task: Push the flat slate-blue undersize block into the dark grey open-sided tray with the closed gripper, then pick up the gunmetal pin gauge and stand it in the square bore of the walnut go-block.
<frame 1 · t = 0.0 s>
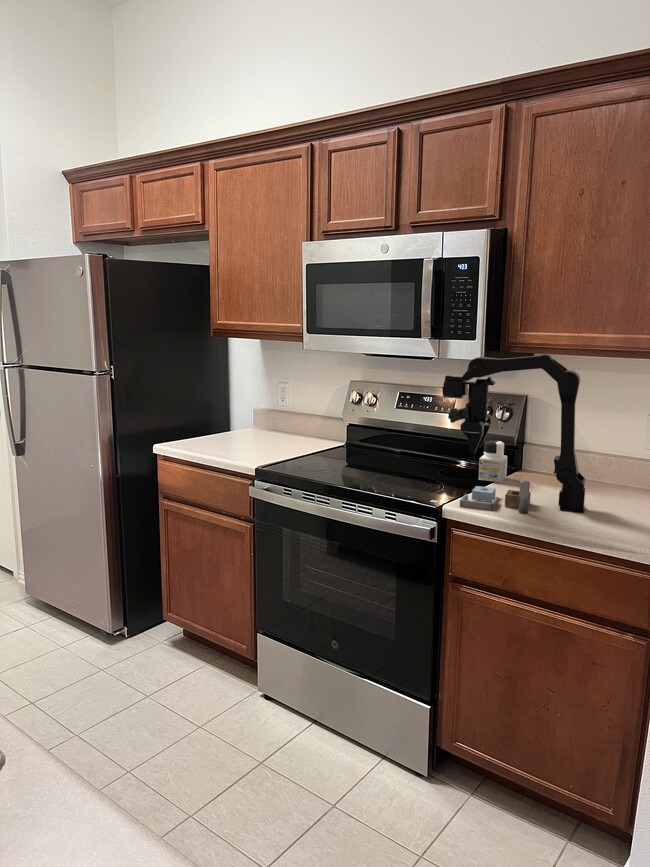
hand: (475, 450, 199), 15 cm above the worktop, fingers open, 9 cm apart
container: (492, 479, 224), on the worktop
pin gauge: (523, 512, 187), on the worktop
tray: (479, 504, 194), on the worktop
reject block: (483, 498, 201), on the worktop
go block: (517, 504, 194), on the worktop
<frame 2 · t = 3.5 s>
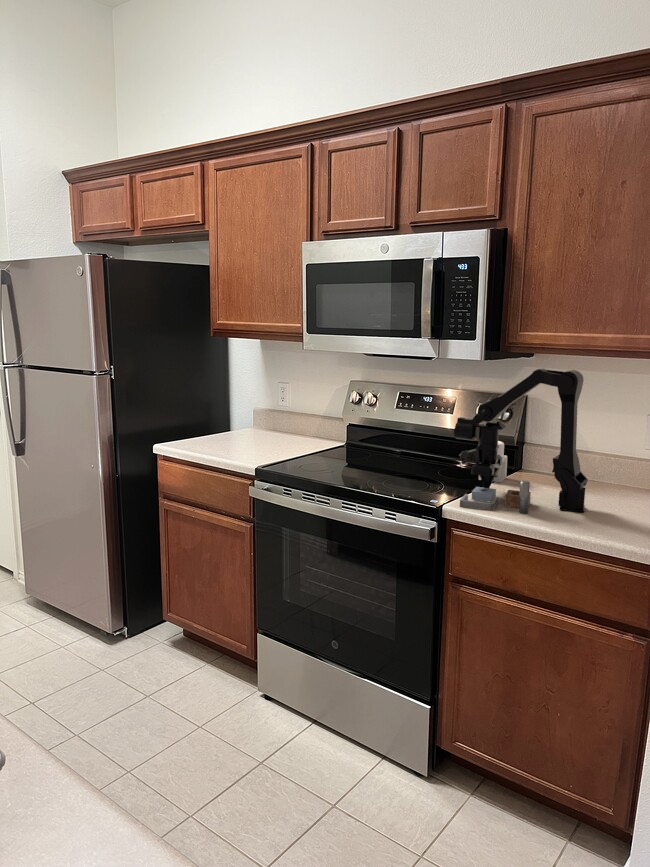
hand: (485, 491, 204), 1 cm above the worktop, fingers closed
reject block: (483, 499, 201), on the worktop, touching gripper
everything else where it was.
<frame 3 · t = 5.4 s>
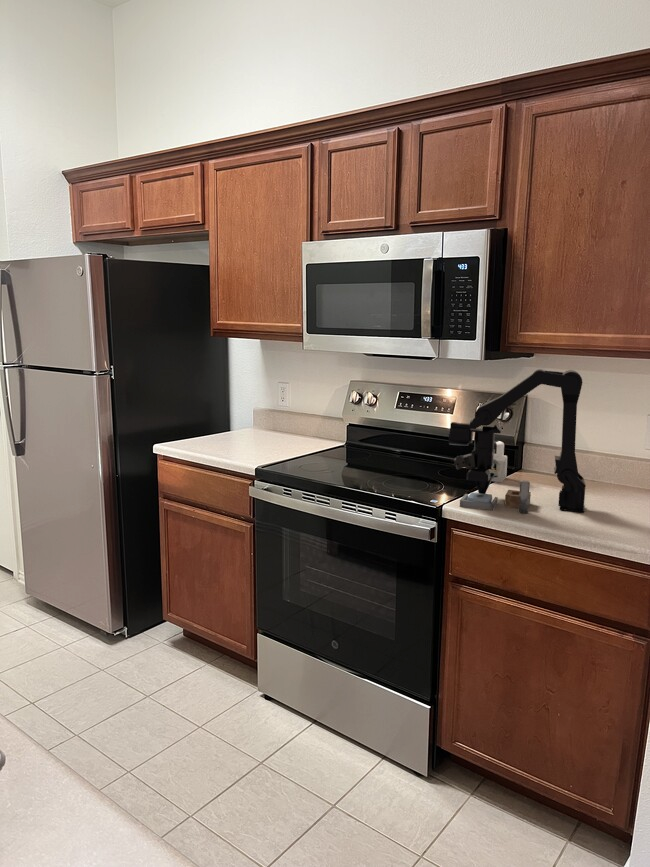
hand: (481, 497, 198), 1 cm above the worktop, fingers closed
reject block: (479, 505, 194), on the worktop
everything else where it was.
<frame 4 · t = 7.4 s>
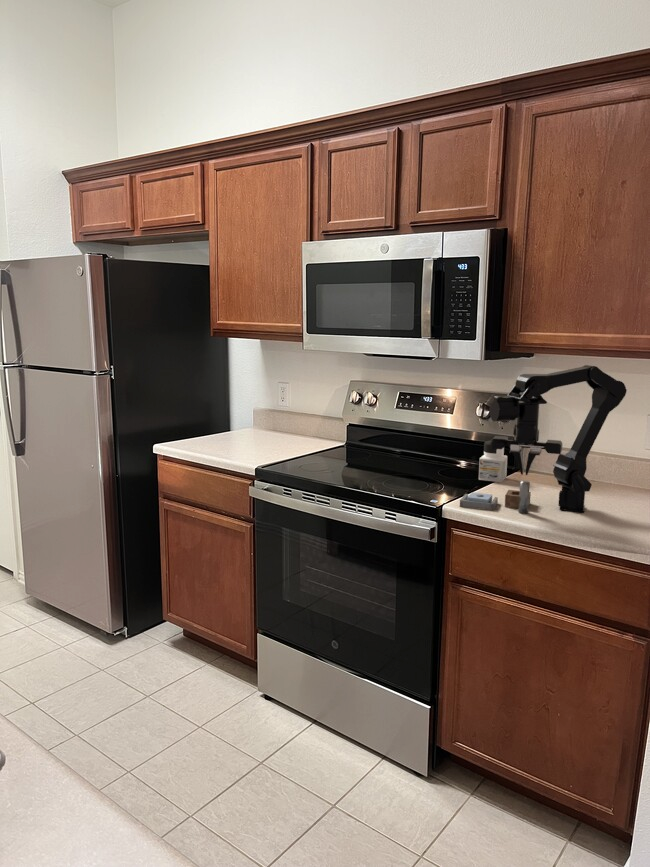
hand: (524, 474, 185), 11 cm above the worktop, fingers closed
nothing on the worktop moved.
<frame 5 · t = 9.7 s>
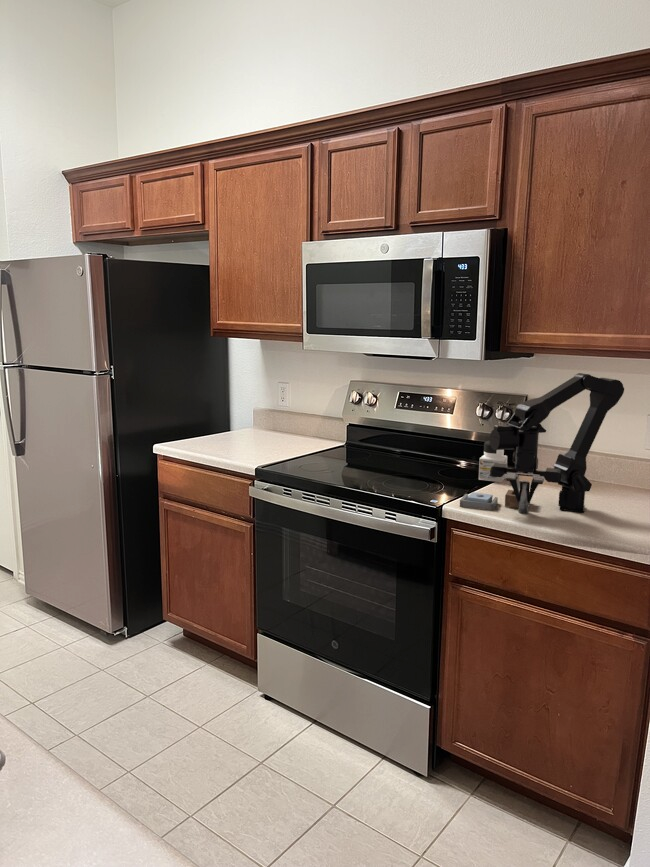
hand: (523, 502, 186), 3 cm above the worktop, fingers closed on pin gauge, 3 cm apart
pin gauge: (523, 512, 187), on the worktop, touching gripper
everything else where it was.
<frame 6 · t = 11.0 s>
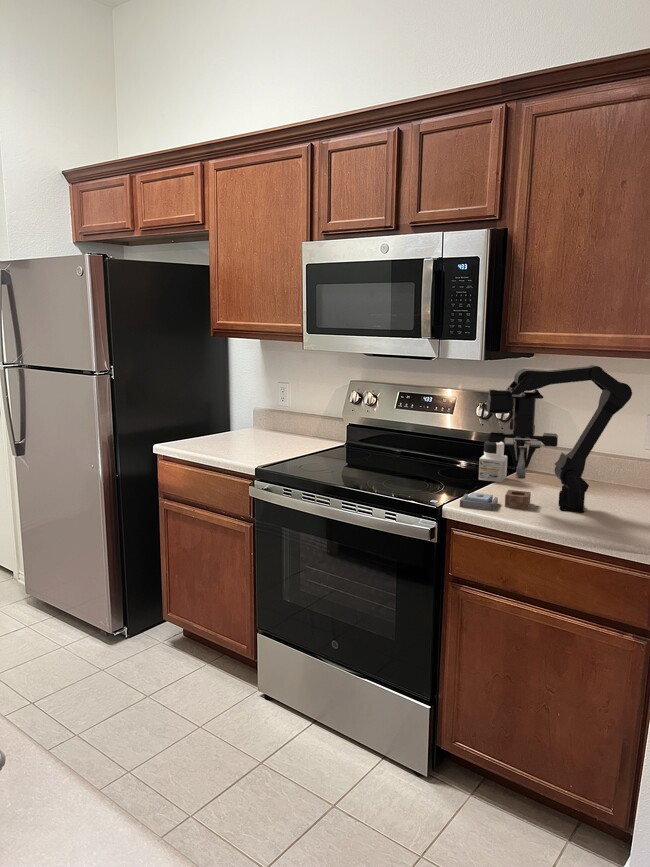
hand: (521, 467, 189), 12 cm above the worktop, fingers closed on pin gauge, 3 cm apart
pin gauge: (520, 477, 190), point 9 cm above the worktop, touching gripper
everything else where it was.
when the fingers open (5 cm above the worktop, at t = 12.5 s): pin gauge drops 2 cm, resting in go block.
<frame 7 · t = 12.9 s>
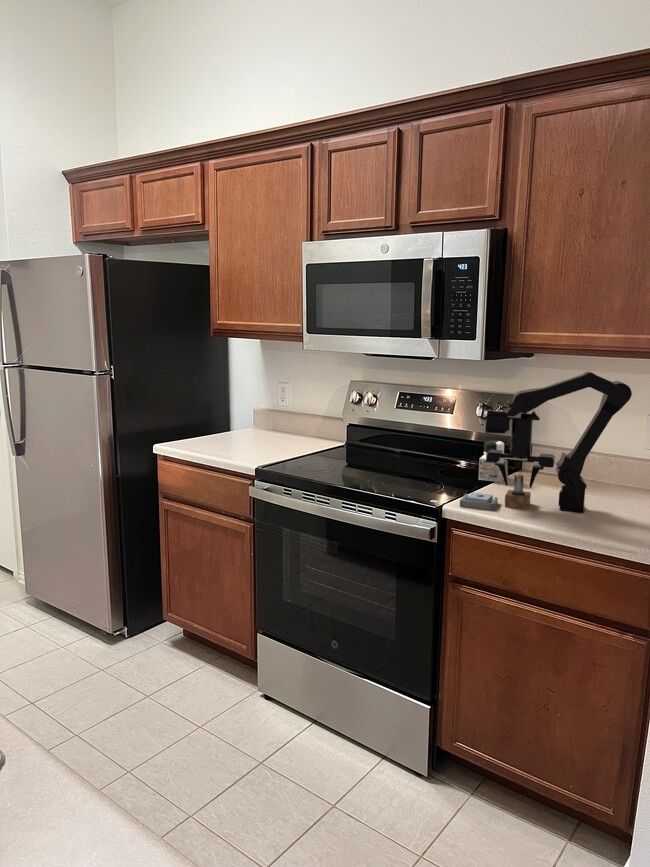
hand: (518, 486, 193), 5 cm above the worktop, fingers open, 6 cm apart
pin gauge: (517, 505, 194), resting in go block
everything else where it was.
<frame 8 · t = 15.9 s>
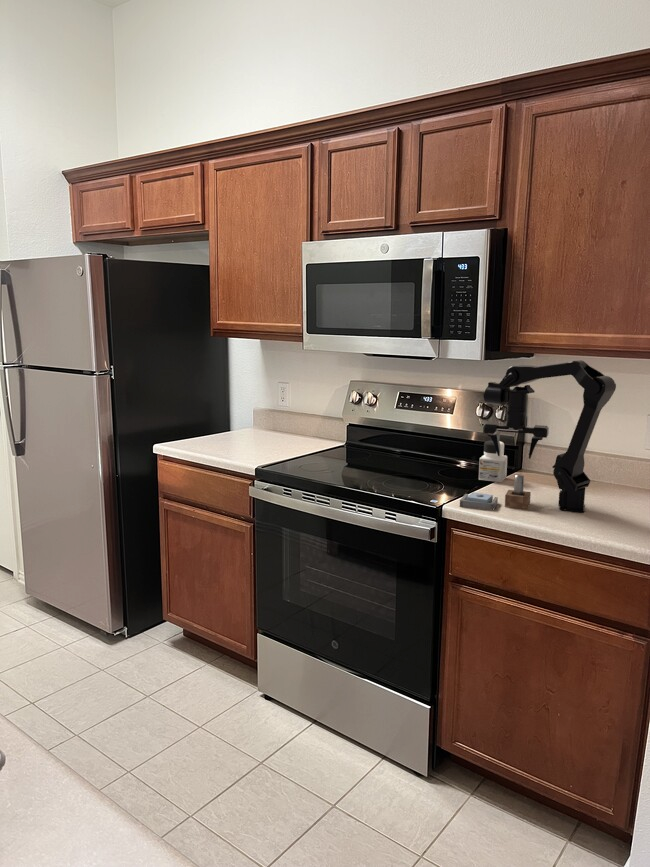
hand: (514, 457, 202), 12 cm above the worktop, fingers open, 9 cm apart
nothing on the worktop moved.
at the end: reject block 0.5 cm off-centre on the tray, point 0.0 cm above the tray's base; pin gauge 0.1 cm from the go block (horizontally); pin gauge resting in go block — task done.
